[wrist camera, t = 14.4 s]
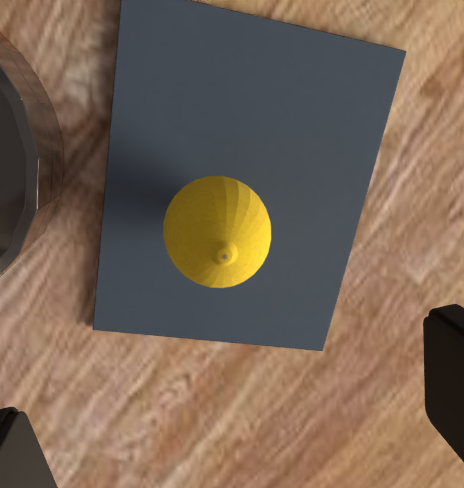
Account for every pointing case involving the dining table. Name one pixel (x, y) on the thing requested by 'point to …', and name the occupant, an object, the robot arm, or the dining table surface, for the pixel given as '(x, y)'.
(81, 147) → the dining table surface
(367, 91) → the napkin
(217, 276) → the lemon
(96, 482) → the dining table surface
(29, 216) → the pan
